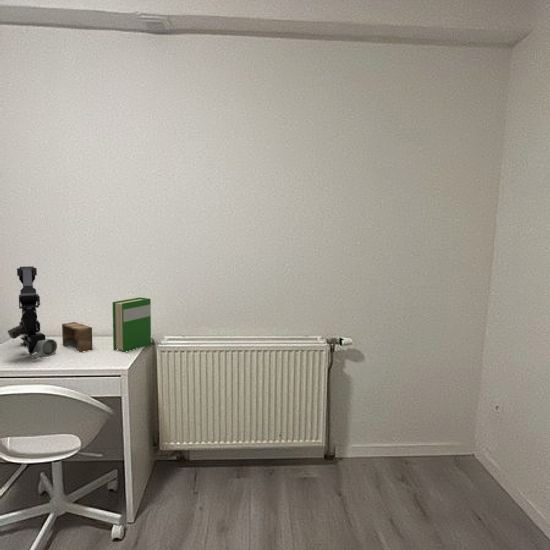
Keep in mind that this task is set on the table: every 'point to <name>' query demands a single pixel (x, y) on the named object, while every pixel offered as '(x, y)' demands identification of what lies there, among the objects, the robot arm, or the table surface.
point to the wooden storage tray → (77, 336)
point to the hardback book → (131, 323)
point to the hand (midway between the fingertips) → (30, 352)
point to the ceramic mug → (44, 348)
